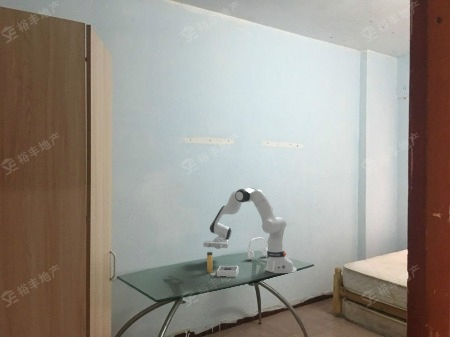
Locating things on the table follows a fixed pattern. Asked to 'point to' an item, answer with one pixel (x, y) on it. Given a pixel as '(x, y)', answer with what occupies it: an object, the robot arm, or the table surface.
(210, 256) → the cylinder
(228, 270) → the walled box
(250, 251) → the headset
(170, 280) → the table surface
